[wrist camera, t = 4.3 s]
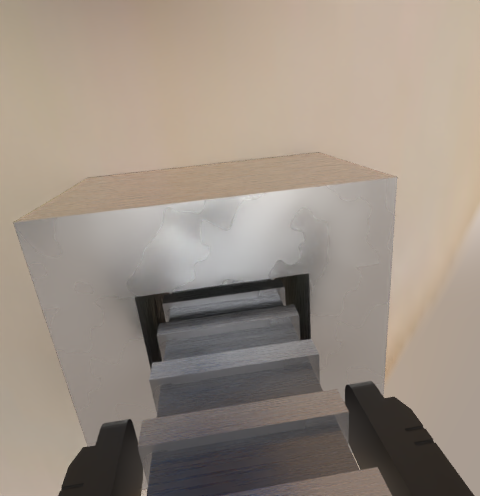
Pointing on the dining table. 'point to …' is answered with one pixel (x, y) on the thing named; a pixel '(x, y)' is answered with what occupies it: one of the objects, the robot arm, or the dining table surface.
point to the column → (244, 403)
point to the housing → (210, 267)
